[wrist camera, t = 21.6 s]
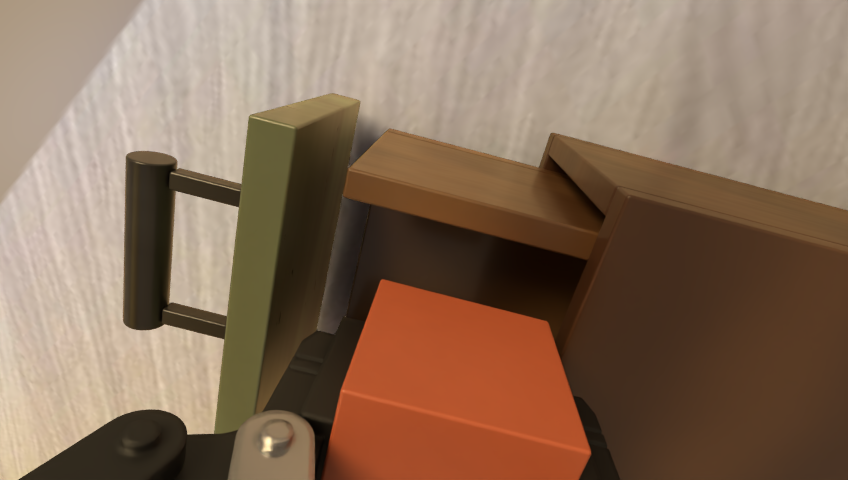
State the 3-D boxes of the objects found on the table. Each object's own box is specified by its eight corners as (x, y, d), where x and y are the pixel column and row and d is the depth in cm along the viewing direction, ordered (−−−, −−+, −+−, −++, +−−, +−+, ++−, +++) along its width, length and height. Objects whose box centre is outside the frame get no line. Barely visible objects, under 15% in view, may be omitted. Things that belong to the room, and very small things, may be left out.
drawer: (192, 311, 23) (65, 432, 15) (212, 61, 18) (51, 62, 11) (564, 405, 23) (612, 566, 16) (664, 180, 19) (792, 256, 12)
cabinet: (465, 379, 24) (469, 572, 15) (550, 131, 19) (628, 194, 10) (745, 450, 24) (911, 680, 15) (892, 222, 20) (1254, 358, 11)
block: (349, 412, 13) (300, 563, 9) (381, 277, 12) (339, 390, 8) (497, 449, 13) (513, 615, 9) (548, 320, 12) (594, 453, 8)
